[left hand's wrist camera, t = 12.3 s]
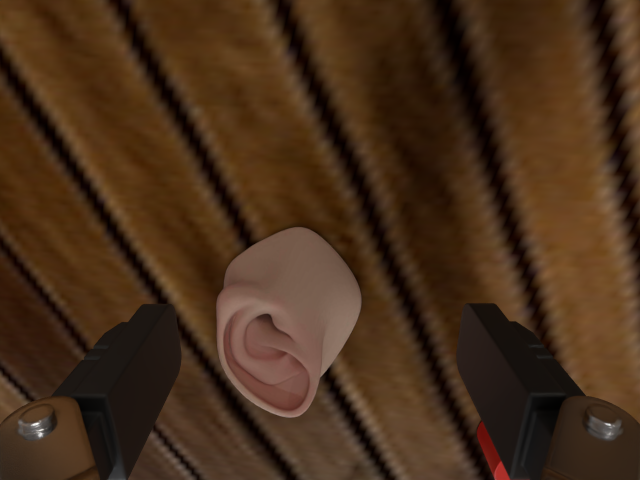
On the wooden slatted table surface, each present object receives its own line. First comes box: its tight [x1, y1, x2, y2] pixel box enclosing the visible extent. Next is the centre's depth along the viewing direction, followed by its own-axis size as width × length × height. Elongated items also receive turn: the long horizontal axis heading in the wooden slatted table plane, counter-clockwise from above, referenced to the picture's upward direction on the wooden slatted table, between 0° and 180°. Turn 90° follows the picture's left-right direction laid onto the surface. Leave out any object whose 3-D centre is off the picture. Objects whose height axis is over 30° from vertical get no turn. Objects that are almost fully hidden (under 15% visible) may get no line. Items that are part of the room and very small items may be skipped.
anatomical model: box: [216, 227, 361, 417], centre depth 30 cm, size 13×4×12 cm
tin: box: [477, 421, 510, 480], centre depth 35 cm, size 5×5×4 cm
